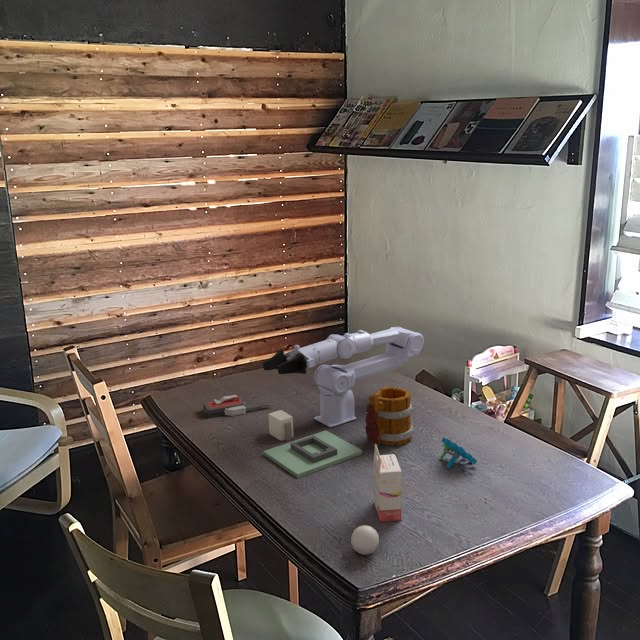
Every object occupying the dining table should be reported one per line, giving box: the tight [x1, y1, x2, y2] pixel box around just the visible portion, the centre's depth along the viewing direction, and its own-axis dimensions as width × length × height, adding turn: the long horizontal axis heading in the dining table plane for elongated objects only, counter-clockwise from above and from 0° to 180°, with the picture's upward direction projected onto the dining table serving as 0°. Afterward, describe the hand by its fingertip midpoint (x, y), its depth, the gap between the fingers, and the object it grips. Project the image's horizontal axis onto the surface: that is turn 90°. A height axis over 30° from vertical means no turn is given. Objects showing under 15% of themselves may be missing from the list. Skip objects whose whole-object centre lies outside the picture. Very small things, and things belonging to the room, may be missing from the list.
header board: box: [262, 430, 363, 479], centre depth 186 cm, size 20×16×2 cm
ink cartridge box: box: [373, 444, 402, 523], centre depth 156 cm, size 9×5×15 cm, turn 5°
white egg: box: [350, 524, 381, 556], centre depth 144 cm, size 8×6×6 cm
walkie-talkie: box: [202, 394, 271, 418], centre depth 216 cm, size 9×4×20 cm
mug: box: [364, 386, 415, 447], centre depth 190 cm, size 11×16×15 cm, turn 137°
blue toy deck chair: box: [438, 437, 478, 469], centre depth 177 cm, size 11×6×10 cm
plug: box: [268, 409, 294, 442], centre depth 197 cm, size 4×9×6 cm, turn 36°
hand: (271, 368), depth 190 cm, fingers open, 7 cm apart
